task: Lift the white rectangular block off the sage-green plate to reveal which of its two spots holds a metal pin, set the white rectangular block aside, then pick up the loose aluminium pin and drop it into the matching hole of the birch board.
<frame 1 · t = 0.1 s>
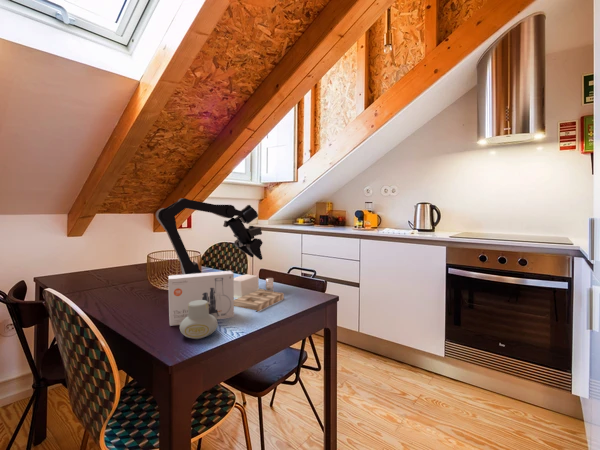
hand: (257, 258, 147), 15 cm above the table, tool tilted 30°, fingers open, 9 cm apart
pin: (269, 294, 140), on the table
skincare box: (202, 320, 111), on the table
hole board: (258, 302, 128), on the table
white rectangular block: (244, 292, 142), point 1 cm above the table, touching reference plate
air freshener: (199, 335, 97), on the table
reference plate: (244, 293, 142), on the table
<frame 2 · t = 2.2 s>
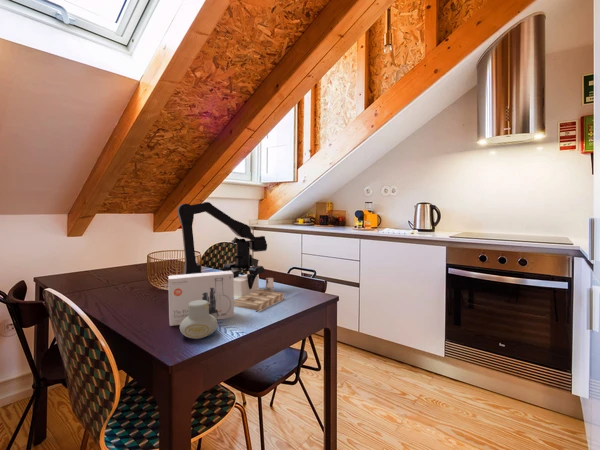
hand: (243, 287, 142), 3 cm above the table, tool pointing down, fingers closed on white rectangular block, 7 cm apart
white rectangular block: (244, 292, 142), point 1 cm above the table, touching gripper, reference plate
everything else where it was.
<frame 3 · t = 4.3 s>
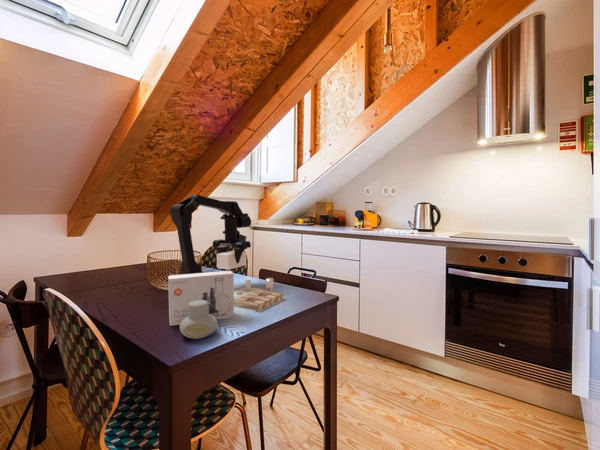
hand: (231, 262, 149), 13 cm above the table, tool pointing down, fingers closed on white rectangular block, 7 cm apart
white rectangular block: (232, 266, 149), point 11 cm above the table, touching gripper
everything else where it was.
when the fingers open (3 cm above the table, at t = 6.7 s): white rectangular block drops 2 cm, on the table.
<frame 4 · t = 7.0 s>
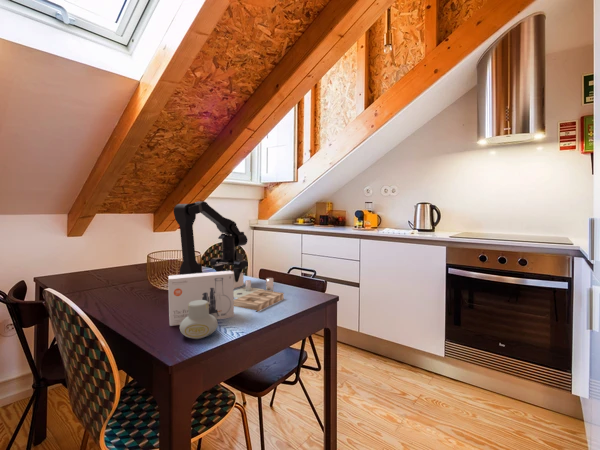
hand: (229, 280, 151), 3 cm above the table, tool pointing down, fingers open, 9 cm apart
white rectangular block: (229, 288, 152), on the table
everything else where it was.
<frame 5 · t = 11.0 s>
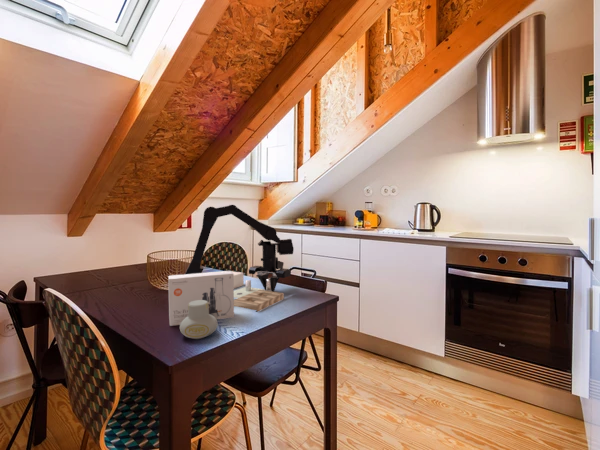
hand: (269, 291, 140), 2 cm above the table, tool pointing down, fingers closed on pin, 3 cm apart
pin: (269, 294, 140), on the table, touching gripper
everything else where it was.
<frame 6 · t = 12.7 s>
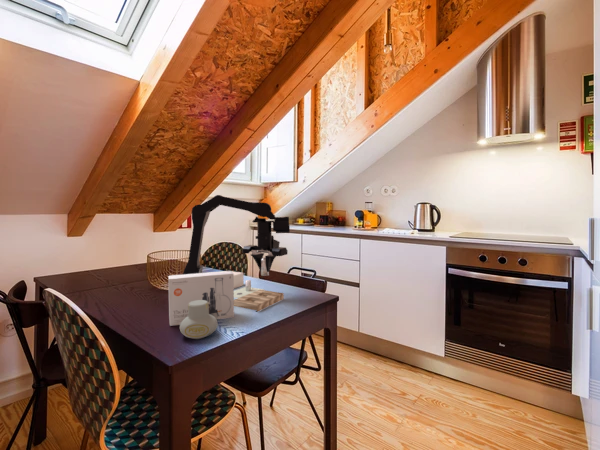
hand: (264, 271, 133), 12 cm above the table, tool pointing down, fingers closed on pin, 3 cm apart
pin: (264, 274, 133), point 10 cm above the table, touching gripper
everything else where it was.
when the fingers open (3 cm above the table, at t = 14.6 s): pin drops 2 cm, resting in hole board.
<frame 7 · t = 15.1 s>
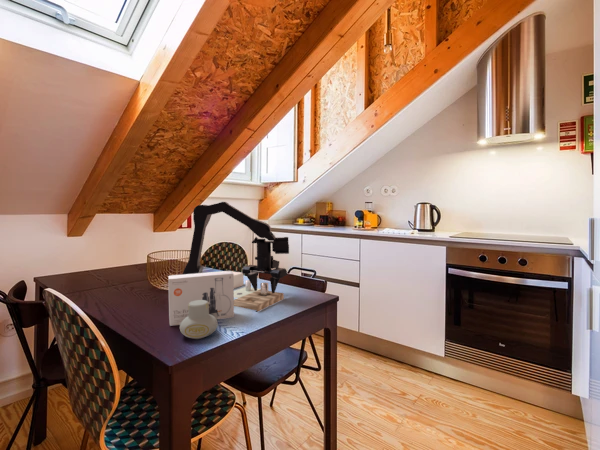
hand: (264, 291, 132), 3 cm above the table, tool pointing down, fingers open, 8 cm apart
pin: (264, 300, 132), resting in hole board
everything else where it was.
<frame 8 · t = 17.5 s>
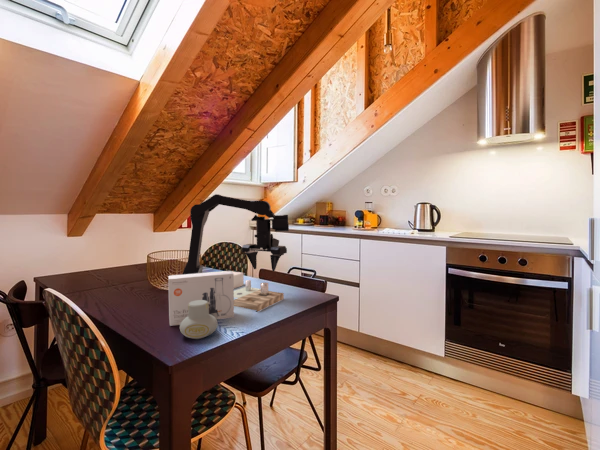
hand: (264, 270, 131), 12 cm above the table, tool pointing down, fingers open, 9 cm apart
nothing on the table moved.
at the end: pin 0.0 cm from the target spot on the hole board, point 0.0 cm above the hole board's base; pin tilted 0°; white rectangular block moved 12.6 cm from its start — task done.
